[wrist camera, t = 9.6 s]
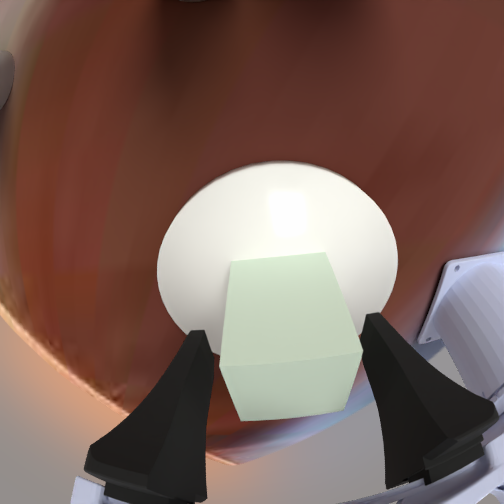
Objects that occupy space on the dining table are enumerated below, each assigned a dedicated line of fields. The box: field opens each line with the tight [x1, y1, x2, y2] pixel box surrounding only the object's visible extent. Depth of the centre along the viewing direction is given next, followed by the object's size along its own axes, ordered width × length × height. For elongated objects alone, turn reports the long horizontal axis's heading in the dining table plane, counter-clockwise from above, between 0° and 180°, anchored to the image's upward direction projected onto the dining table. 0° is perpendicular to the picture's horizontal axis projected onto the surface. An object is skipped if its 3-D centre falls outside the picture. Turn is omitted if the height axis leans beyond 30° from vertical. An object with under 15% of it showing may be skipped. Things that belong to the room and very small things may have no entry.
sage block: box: [219, 252, 363, 421], centre depth 11 cm, size 4×4×6 cm
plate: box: [157, 161, 397, 355], centre depth 14 cm, size 13×13×1 cm
